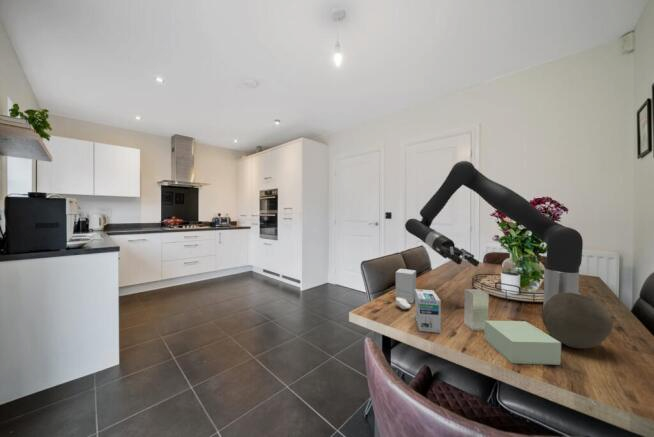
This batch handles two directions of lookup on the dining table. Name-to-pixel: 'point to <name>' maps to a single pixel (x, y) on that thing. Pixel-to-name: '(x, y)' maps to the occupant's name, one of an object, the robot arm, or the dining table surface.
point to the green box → (522, 342)
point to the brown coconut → (576, 320)
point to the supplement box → (406, 284)
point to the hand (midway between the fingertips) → (469, 263)
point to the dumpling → (402, 303)
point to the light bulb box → (427, 311)
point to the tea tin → (476, 309)
